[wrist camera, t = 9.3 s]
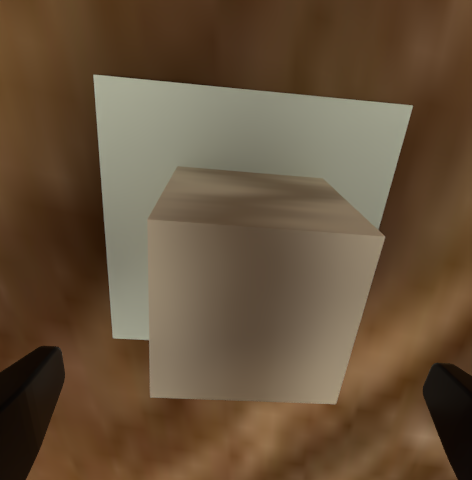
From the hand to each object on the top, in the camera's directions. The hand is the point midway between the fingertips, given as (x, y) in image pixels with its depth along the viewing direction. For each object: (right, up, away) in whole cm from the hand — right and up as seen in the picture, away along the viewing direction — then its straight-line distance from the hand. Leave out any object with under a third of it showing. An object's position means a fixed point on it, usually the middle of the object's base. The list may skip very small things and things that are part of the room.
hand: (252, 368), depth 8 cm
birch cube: (0, +3, +7) cm, 8 cm away
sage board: (0, +4, +8) cm, 9 cm away
